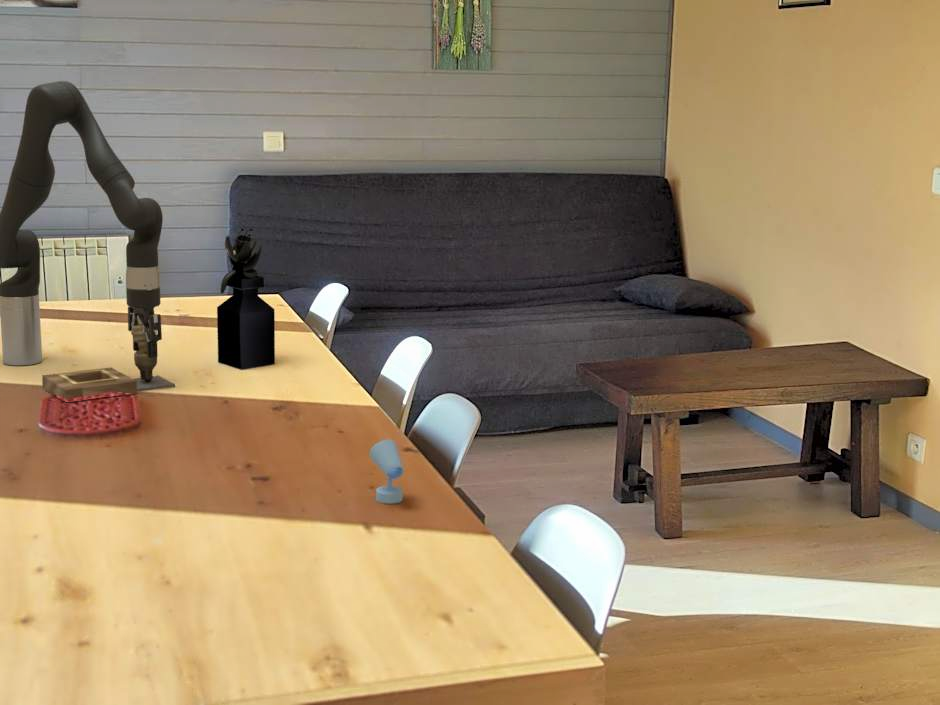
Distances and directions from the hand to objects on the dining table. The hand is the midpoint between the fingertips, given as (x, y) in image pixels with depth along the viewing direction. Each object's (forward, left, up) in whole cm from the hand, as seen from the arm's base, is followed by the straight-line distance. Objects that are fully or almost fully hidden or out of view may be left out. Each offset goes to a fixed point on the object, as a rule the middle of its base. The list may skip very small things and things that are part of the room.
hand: (145, 354), depth 255 cm
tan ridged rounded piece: (0, 0, -7) cm, 7 cm away
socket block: (-1, -13, -7) cm, 15 cm away
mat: (0, 0, -7) cm, 7 cm away
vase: (-9, +30, -8) cm, 32 cm away
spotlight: (+96, +4, -8) cm, 96 cm away
